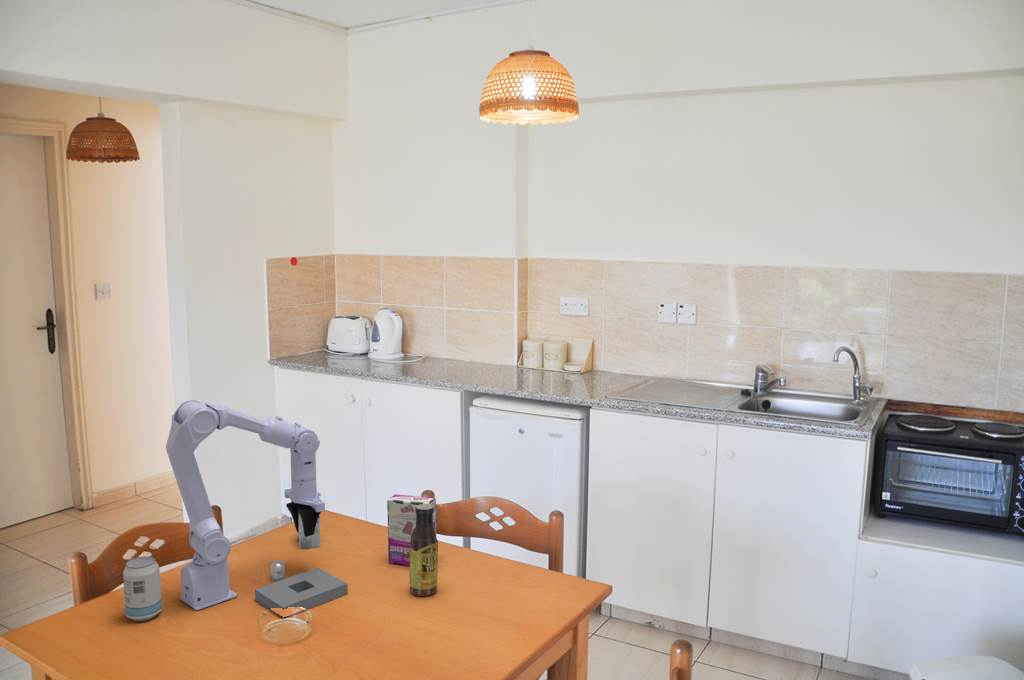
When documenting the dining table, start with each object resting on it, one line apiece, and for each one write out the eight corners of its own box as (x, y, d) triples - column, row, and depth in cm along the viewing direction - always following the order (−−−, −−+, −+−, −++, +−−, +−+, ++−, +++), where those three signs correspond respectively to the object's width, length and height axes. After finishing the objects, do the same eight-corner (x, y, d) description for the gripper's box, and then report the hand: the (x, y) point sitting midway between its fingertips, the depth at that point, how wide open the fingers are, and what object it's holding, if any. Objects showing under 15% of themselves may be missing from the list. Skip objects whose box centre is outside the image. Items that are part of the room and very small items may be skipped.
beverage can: (169, 610, 172) (166, 557, 170) (146, 625, 165) (143, 570, 163) (142, 606, 173) (138, 553, 172) (118, 621, 167) (114, 566, 165)
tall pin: (303, 550, 188) (302, 513, 187) (296, 547, 190) (295, 510, 189) (314, 547, 190) (313, 510, 189) (307, 543, 193) (306, 507, 191)
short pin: (275, 583, 185) (274, 566, 184) (268, 579, 187) (268, 563, 186) (287, 579, 187) (286, 562, 187) (280, 575, 189) (279, 559, 189)
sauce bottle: (424, 600, 177) (423, 514, 174) (403, 592, 181) (402, 507, 178) (444, 589, 182) (443, 505, 179) (424, 582, 186) (423, 500, 183)
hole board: (283, 618, 168) (283, 607, 168) (255, 600, 176) (254, 589, 176) (347, 594, 180) (347, 583, 179) (318, 577, 188) (317, 567, 188)
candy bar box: (437, 561, 197) (437, 497, 195) (429, 569, 193) (429, 504, 190) (396, 555, 201) (395, 492, 198) (387, 563, 196) (386, 499, 194)
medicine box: (297, 538, 211) (296, 507, 210) (314, 536, 213) (313, 504, 212) (303, 549, 204) (302, 517, 203) (321, 546, 206) (320, 514, 205)
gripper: (335, 481, 186) (337, 536, 188) (302, 467, 196) (303, 521, 198) (309, 487, 181) (310, 545, 183) (276, 473, 191) (277, 528, 193)
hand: (305, 533), depth 190 cm, fingers closed on tall pin, 3 cm apart
